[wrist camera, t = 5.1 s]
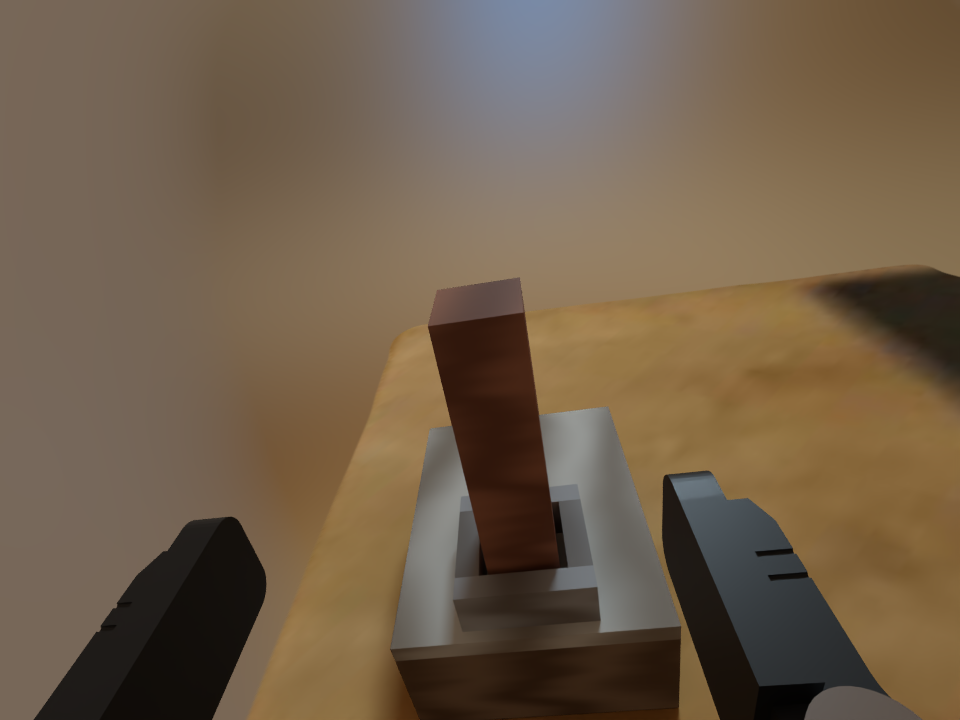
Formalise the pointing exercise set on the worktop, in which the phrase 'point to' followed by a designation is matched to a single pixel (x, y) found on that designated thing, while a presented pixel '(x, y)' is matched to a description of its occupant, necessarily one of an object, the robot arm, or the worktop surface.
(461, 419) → the wooden key
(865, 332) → the worktop surface
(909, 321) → the worktop surface
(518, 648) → the gray socket block
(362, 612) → the worktop surface
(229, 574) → the robot arm
